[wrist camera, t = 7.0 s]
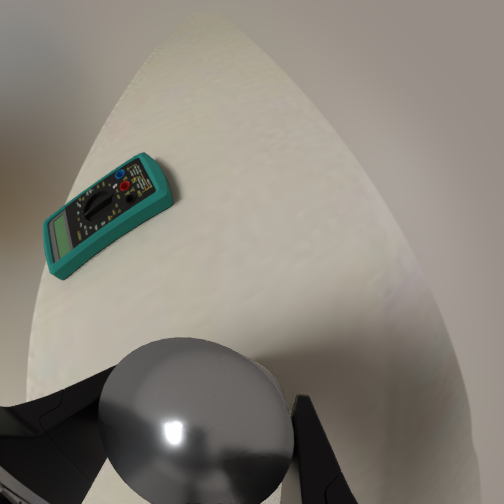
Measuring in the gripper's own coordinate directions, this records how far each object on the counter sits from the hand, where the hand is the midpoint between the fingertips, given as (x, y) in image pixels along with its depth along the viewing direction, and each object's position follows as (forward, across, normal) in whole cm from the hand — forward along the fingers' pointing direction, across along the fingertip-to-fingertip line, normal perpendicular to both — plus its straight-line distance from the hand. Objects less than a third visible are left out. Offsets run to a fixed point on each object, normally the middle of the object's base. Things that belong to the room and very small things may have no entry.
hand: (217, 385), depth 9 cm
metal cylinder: (+4, 0, +6) cm, 7 cm away
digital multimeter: (+15, +17, 0) cm, 23 cm away
